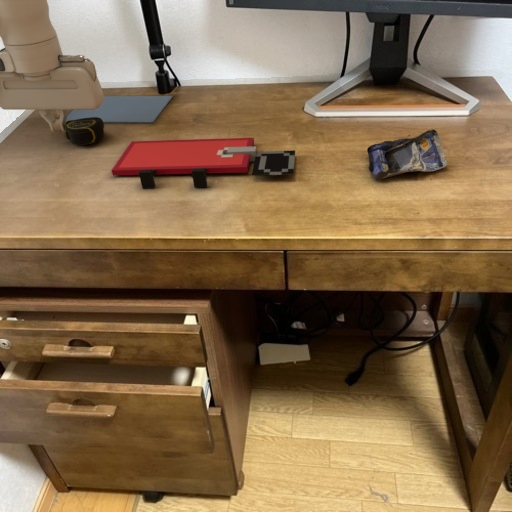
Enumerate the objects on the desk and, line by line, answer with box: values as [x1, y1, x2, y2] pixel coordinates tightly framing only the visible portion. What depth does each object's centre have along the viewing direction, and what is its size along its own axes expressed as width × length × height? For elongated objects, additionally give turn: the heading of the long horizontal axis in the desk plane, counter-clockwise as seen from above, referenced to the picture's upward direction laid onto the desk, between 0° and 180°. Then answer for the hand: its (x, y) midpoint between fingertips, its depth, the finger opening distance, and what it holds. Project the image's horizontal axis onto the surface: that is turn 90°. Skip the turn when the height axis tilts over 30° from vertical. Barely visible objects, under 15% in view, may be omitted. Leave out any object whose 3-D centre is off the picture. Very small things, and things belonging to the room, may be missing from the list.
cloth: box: [66, 95, 174, 124], centre depth 106 cm, size 20×14×1 cm
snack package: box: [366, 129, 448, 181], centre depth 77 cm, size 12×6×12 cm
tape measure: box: [65, 117, 105, 146], centre depth 93 cm, size 7×7×4 cm
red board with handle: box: [110, 137, 296, 190], centre depth 82 cm, size 30×3×15 cm
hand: (60, 130), depth 95 cm, fingers closed
